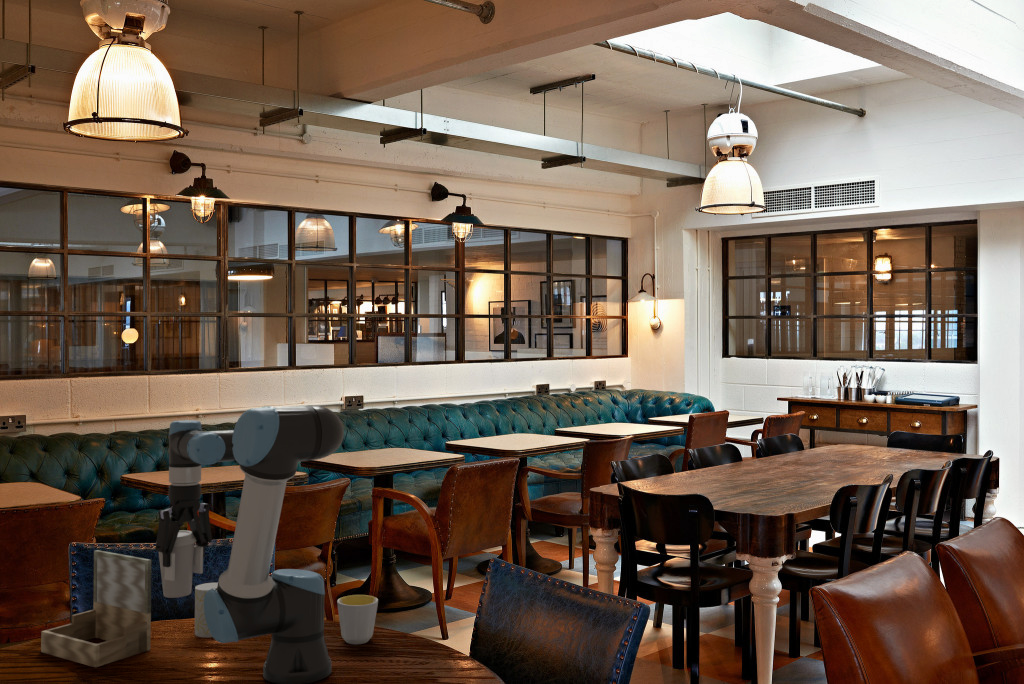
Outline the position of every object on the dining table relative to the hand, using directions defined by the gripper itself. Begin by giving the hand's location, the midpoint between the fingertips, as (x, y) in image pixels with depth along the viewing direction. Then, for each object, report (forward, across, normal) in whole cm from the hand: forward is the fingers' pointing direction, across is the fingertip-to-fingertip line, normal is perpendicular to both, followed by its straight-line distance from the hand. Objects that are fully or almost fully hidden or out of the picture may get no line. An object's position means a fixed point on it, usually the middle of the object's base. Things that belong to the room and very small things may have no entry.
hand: (184, 576), depth 228 cm
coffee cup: (+5, -1, -3) cm, 6 cm away
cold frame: (+18, +12, -17) cm, 27 cm away
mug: (+18, -29, +31) cm, 46 cm away
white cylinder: (+18, -13, -5) cm, 23 cm away
